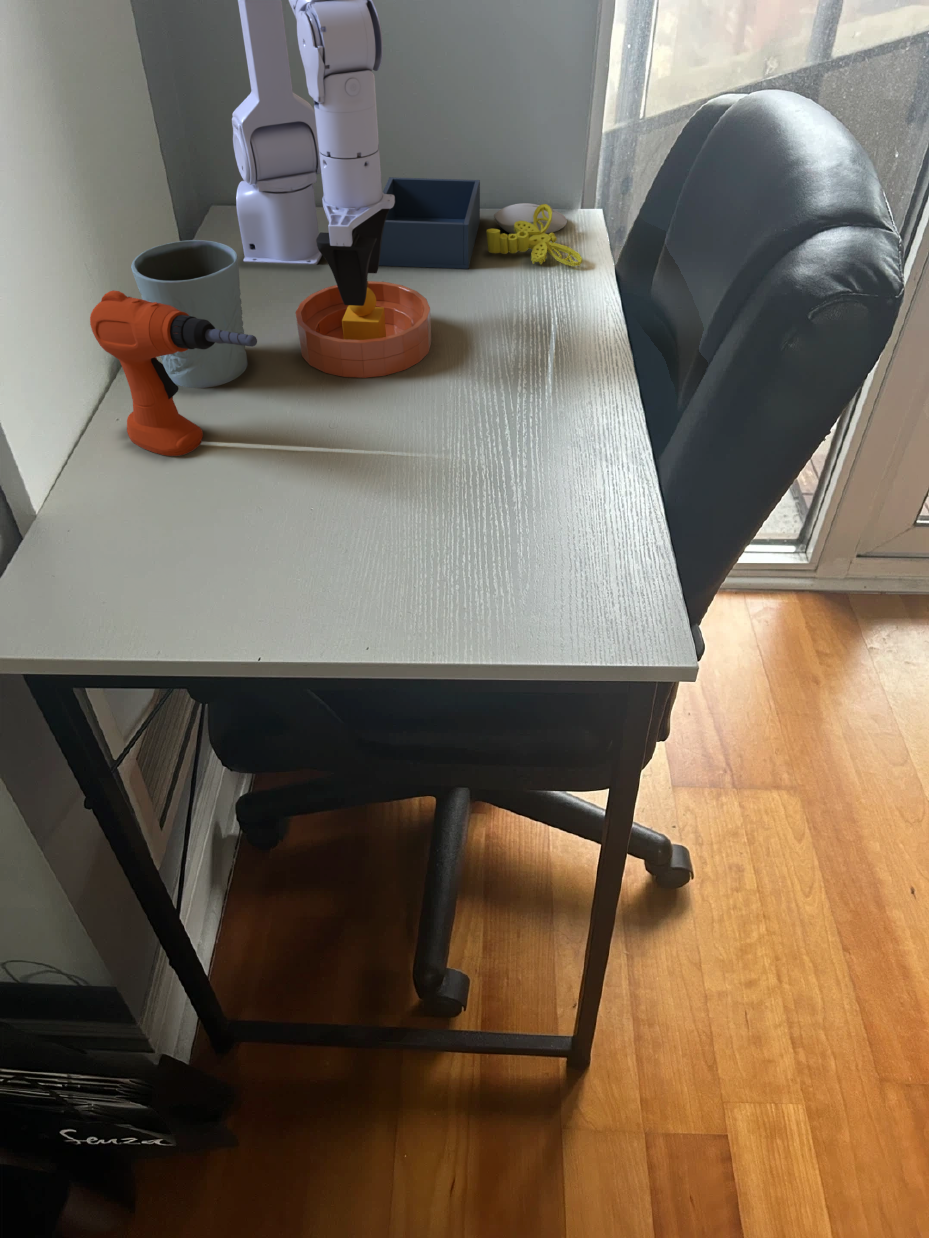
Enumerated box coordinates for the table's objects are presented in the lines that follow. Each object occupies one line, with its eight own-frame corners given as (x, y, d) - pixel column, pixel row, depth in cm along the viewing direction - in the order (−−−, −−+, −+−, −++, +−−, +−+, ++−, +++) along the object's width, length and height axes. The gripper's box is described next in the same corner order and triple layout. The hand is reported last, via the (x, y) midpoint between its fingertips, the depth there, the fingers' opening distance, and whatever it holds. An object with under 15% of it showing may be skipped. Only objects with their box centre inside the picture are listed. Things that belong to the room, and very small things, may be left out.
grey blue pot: (147, 392, 97) (116, 280, 89) (175, 345, 104) (149, 237, 96) (244, 395, 97) (222, 282, 88) (265, 347, 104) (247, 239, 95)
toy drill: (274, 481, 83) (226, 319, 74) (121, 449, 91) (60, 299, 82) (306, 454, 86) (264, 294, 77) (155, 425, 94) (100, 277, 85)
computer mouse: (571, 232, 126) (573, 210, 124) (499, 240, 124) (500, 217, 122) (557, 216, 130) (559, 193, 128) (488, 223, 128) (488, 200, 126)
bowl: (287, 378, 99) (281, 339, 96) (317, 316, 109) (312, 278, 106) (421, 385, 98) (419, 345, 95) (438, 321, 108) (437, 283, 105)
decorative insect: (508, 290, 117) (584, 268, 118) (507, 268, 114) (584, 246, 115) (476, 230, 124) (547, 210, 125) (474, 208, 121) (547, 187, 122)
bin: (372, 265, 119) (369, 221, 115) (391, 218, 130) (389, 177, 126) (468, 269, 118) (468, 224, 114) (479, 221, 129) (479, 180, 125)
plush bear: (344, 351, 102) (338, 290, 97) (351, 336, 104) (344, 276, 100) (381, 353, 102) (376, 292, 97) (386, 338, 104) (382, 277, 99)
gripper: (377, 177, 84) (387, 321, 93) (402, 126, 94) (409, 260, 103) (299, 175, 84) (317, 318, 94) (333, 124, 95) (346, 257, 104)
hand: (361, 287), depth 99 cm, fingers open, 7 cm apart
